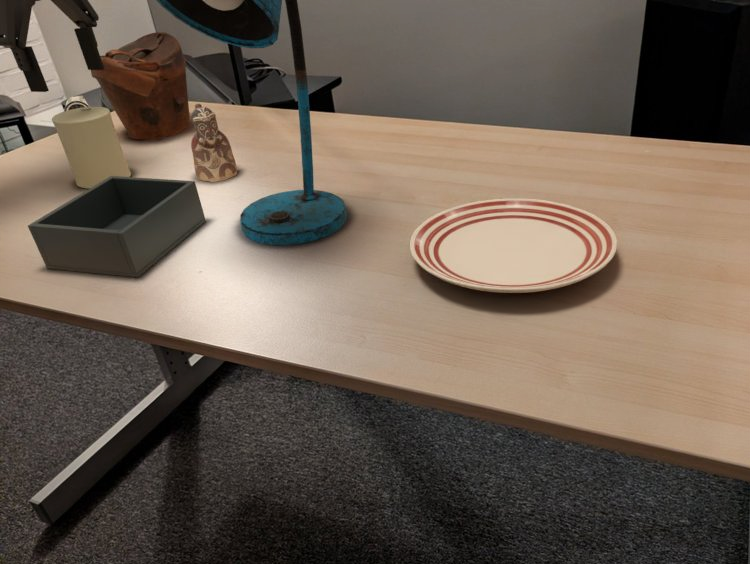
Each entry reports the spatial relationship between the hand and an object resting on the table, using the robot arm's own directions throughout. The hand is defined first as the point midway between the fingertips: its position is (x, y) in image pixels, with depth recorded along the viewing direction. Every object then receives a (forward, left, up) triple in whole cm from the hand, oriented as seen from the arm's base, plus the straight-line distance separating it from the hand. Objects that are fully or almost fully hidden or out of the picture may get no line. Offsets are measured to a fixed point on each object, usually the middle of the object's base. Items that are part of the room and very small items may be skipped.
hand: (69, 80), depth 108 cm
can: (0, 0, -17) cm, 17 cm away
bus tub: (+21, -22, -17) cm, 35 cm away
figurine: (+20, +5, -17) cm, 27 cm away
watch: (-10, +11, -17) cm, 23 cm away
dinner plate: (+77, -17, -17) cm, 81 cm away
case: (-6, +26, -17) cm, 32 cm away
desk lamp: (+42, -13, -17) cm, 47 cm away
